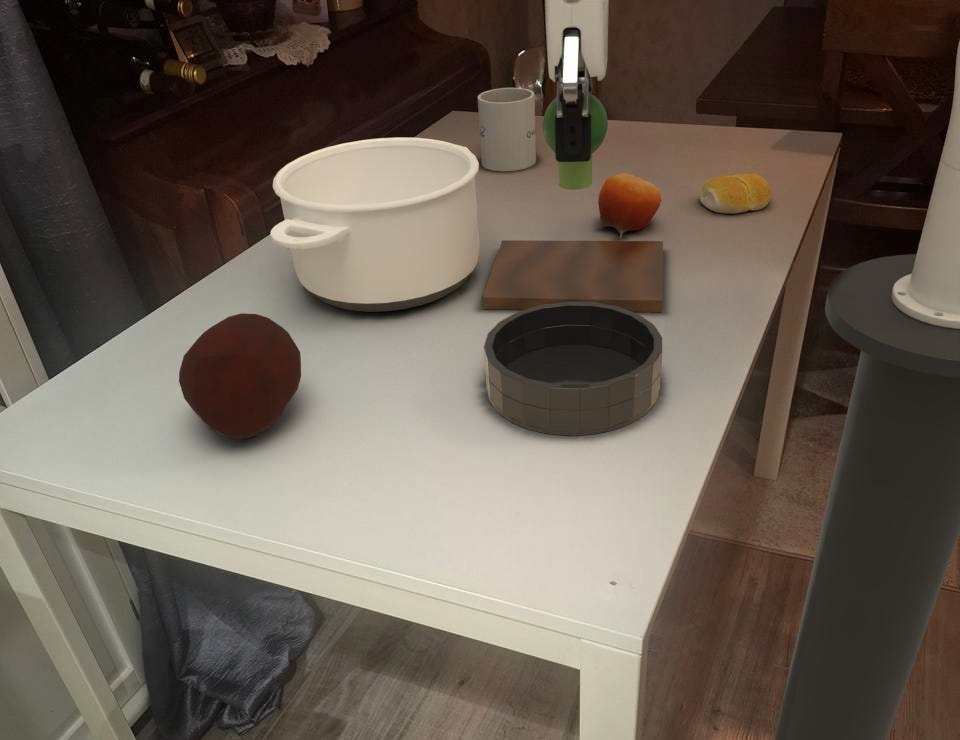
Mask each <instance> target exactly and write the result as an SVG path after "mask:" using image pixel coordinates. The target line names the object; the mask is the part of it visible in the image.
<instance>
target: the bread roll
mask: <svg viewBox="0 0 960 740" xmlns="http://www.w3.org/2000/svg"><path fill="white" fill-rule="evenodd" d="M771 196H772V191H771V188H770V185H769V183H768V182H767V180H766V179H765V178H763V177H762V175H761V176H760V175H759V174H756V173H750V172H749V173H737V174H732V175H719V176H713V177H711V178H709V179H708V180H707V181H706V182H705V183H704V184H703V186H702V187H701V191H700V195H699V200H700V203H701V204H702V205H703V206H704V207H705V208H706V209H709V210H710V211H713V212H714V213H718V214H740V213H745V212H749V211H760V210H762V209H763V208H766V206H767V205H768V203H769V202H770V200H771Z"/></svg>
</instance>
